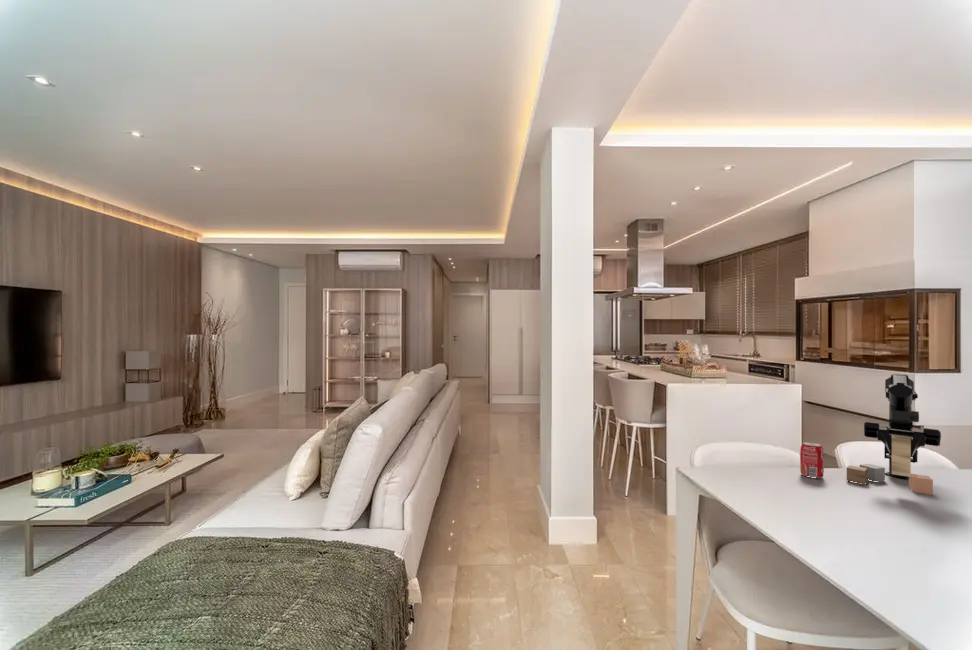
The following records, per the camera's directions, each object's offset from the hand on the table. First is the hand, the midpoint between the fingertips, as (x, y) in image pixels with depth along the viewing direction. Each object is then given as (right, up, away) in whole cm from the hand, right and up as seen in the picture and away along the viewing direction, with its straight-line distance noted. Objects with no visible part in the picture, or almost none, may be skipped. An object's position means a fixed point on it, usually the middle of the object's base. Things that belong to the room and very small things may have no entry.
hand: (901, 454), depth 146 cm
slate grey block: (+5, -14, +16) cm, 22 cm away
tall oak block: (+1, -7, +1) cm, 7 cm away
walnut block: (-3, -14, +14) cm, 20 cm away
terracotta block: (+11, -14, +5) cm, 18 cm away
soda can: (-16, -14, +19) cm, 28 cm away
